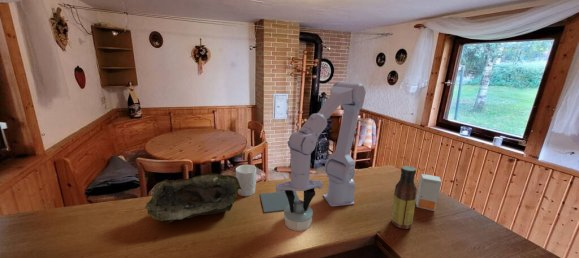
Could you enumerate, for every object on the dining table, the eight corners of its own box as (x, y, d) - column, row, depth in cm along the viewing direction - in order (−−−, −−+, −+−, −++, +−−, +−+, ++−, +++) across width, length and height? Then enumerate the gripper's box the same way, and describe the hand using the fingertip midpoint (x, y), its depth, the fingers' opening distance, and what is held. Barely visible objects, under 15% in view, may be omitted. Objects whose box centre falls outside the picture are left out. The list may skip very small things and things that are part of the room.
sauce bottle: (410, 220, 80) (420, 166, 74) (412, 232, 74) (424, 174, 69) (389, 216, 82) (397, 162, 76) (390, 227, 76) (399, 170, 71)
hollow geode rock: (240, 220, 84) (239, 179, 91) (242, 214, 73) (241, 167, 80) (153, 228, 77) (159, 183, 84) (140, 223, 66) (149, 171, 73)
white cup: (258, 187, 97) (258, 165, 95) (253, 198, 90) (253, 174, 87) (239, 186, 98) (239, 163, 95) (233, 196, 90) (232, 172, 88)
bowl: (306, 213, 82) (306, 204, 81) (314, 229, 74) (315, 219, 73) (282, 216, 80) (282, 206, 79) (288, 232, 72) (288, 222, 71)
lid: (307, 203, 81) (308, 193, 80) (316, 220, 73) (317, 209, 72) (281, 206, 79) (281, 195, 78) (287, 223, 70) (287, 212, 69)
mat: (294, 191, 95) (294, 190, 95) (303, 208, 84) (303, 207, 84) (260, 194, 92) (260, 193, 92) (264, 212, 81) (264, 211, 81)
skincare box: (416, 207, 87) (422, 178, 84) (415, 201, 91) (420, 173, 88) (435, 211, 85) (442, 181, 82) (433, 205, 89) (439, 176, 86)
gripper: (318, 163, 77) (315, 200, 81) (274, 166, 74) (273, 205, 78) (326, 173, 71) (323, 213, 74) (278, 177, 67) (277, 218, 71)
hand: (298, 210), depth 76 cm, fingers open, 4 cm apart
